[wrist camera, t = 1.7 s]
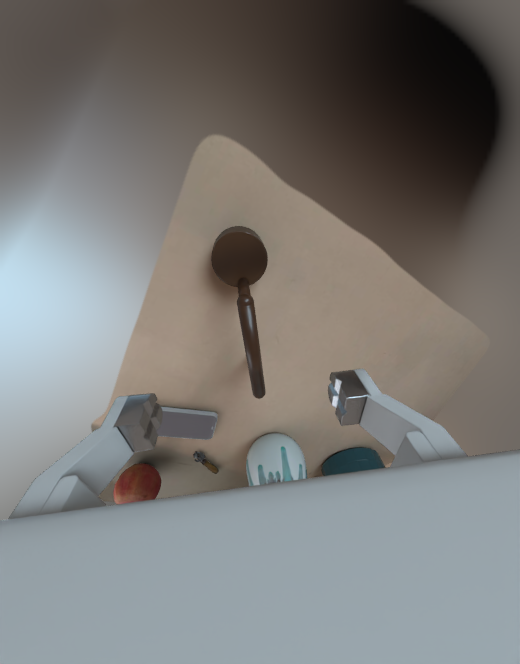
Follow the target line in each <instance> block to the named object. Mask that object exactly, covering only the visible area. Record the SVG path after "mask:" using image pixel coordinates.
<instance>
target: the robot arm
mask: <svg viewBox="0 0 520 664" xmlns="http://www.w3.org/2000/svg"><path fill="white" fill-rule="evenodd" d="M330 381H331V383H330V384H329V386H328V395H329V399H330V402H331V404H332V406H334V407H335V408H336V416H337V418H338V420H339V422H340V425H341V426H342V425H352V424H359V425H360V426H361V427H363V428H364V429H365V430H366V431H367V432H368V433H370V434H371V435H372V436H373V437H374V438H375V439H377V440H378V441H379V442H380V443H381V444H382V445H384V446H385V447H386V448H387V449H388V450H389V451H391V452H392V453H393V454H394V455H395V458H394V460H393V462H392V464H391V466H390V467H388V468H380V469H373V470H365V471H358V472H351V473H343V474H336V475H329V476H321V477H314V478H307V479H299V480H292V481H285V482H277V483H270V484H263V485H255V486H248V487H241V488H234V489H226V490H219V491H212V492H204V493H197V494H190V495H183V496H175V497H168V498H161V499H153V500H146V501H139V502H131V503H124V504H117V505H110V506H106V504H105V503H104V502H103V501H102V500H101V499H100V498H99V497H98V496H99V495H100V494H101V492H102V491H103V490H104V489H105V488H106V486H107V485H108V484H109V483H110V482H111V480H112V479H113V478H114V477H115V476H116V474H117V473H118V472H119V471H120V470H121V468H122V467H123V466H124V465H125V464H126V462H127V461H128V460H129V459H130V458H131V456H132V455H133V454H134V452H139V451H146V450H152V449H154V447H155V444H156V440H157V437H158V434H157V432H156V430H157V429H158V428H159V427H160V426H161V423H162V418H163V412H162V408H161V406H160V405H159V404H157V403H156V401H157V397H156V395H155V394H153V393H150V394H139V395H130V396H119V397H118V398H117V399H116V400H115V401H114V403H113V405H112V407H111V409H110V411H109V413H108V414H107V416H106V418H105V420H104V422H103V424H102V425H101V427H100V429H96V430H95V431H93V432H92V433H91V434H90V435H89V436H87V437H86V438H85V439H84V440H82V441H81V442H80V443H79V444H77V445H76V446H75V447H74V448H72V449H71V450H70V451H69V452H67V453H66V454H65V455H64V456H63V457H61V458H60V459H59V460H58V461H56V462H55V463H54V464H53V465H51V466H50V467H49V468H48V469H46V470H45V471H44V472H43V473H42V474H40V475H39V476H38V477H37V478H35V480H34V481H33V482H32V484H31V485H30V487H29V488H28V490H27V491H26V493H25V494H24V496H23V497H22V499H21V500H20V502H19V503H18V505H17V506H16V508H15V509H14V511H13V512H12V514H11V515H10V517H9V518H8V519H7V520H0V664H520V449H519V450H511V451H504V452H498V453H490V454H482V455H475V456H467V454H466V453H465V452H464V451H463V450H462V449H461V447H460V446H459V445H458V444H457V443H456V442H455V440H454V439H453V438H452V437H451V436H450V434H449V433H447V431H446V430H445V429H444V427H443V426H441V425H439V424H437V423H436V422H434V421H432V420H430V419H429V418H427V417H425V416H423V415H421V414H420V413H418V412H416V411H414V410H413V409H411V408H409V407H407V406H406V405H404V404H402V403H400V402H399V401H397V400H395V399H393V398H392V397H390V396H388V395H386V394H384V395H383V394H382V393H381V392H380V390H379V389H378V387H377V386H376V385H375V383H374V382H373V380H372V379H371V378H370V376H369V375H368V373H367V372H366V371H365V370H364V369H356V370H348V371H340V372H332V373H331V374H330Z"/></svg>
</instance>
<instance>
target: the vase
mask: <svg viewBox="0 0 520 664" xmlns="http://www.w3.org/2000/svg"><path fill="white" fill-rule="evenodd" d="M246 471H247V478H248V483H249V486H255V485H263V484H270V483H277V482H285V481H292V480H299V479H307V470H306V462H305V458H304V454H303V452H302V450H301V448H300V446H299V445H298V444H297V442H296V441H295V440H294V439H292V438H291V437H289V436H288V435H285V434H281V433H271V434H267V435H264V436H262V437H260V438H258V439H257V440H256V441H255V442H254V443H253V444H252V446H251V448H250V450H249V452H248V455H247V460H246Z"/></svg>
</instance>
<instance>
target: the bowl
mask: <svg viewBox="0 0 520 664" xmlns="http://www.w3.org/2000/svg"><path fill="white" fill-rule="evenodd" d="M380 468H386V467H385V465H384V464H383V462H382V460H381V458H380V456H379V454H378V453H377V452H376V451H375V450H372V449H369V448H353V449H348V450H345V451H342V452H339V453H337V454H335V455H333V456H332V457H330V458H329V459H328V460H327V461H326V462H325V463H324V464H323V466H322V473H323V476H329V475H336V474H343V473H351V472H358V471H365V470H373V469H380Z"/></svg>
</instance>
